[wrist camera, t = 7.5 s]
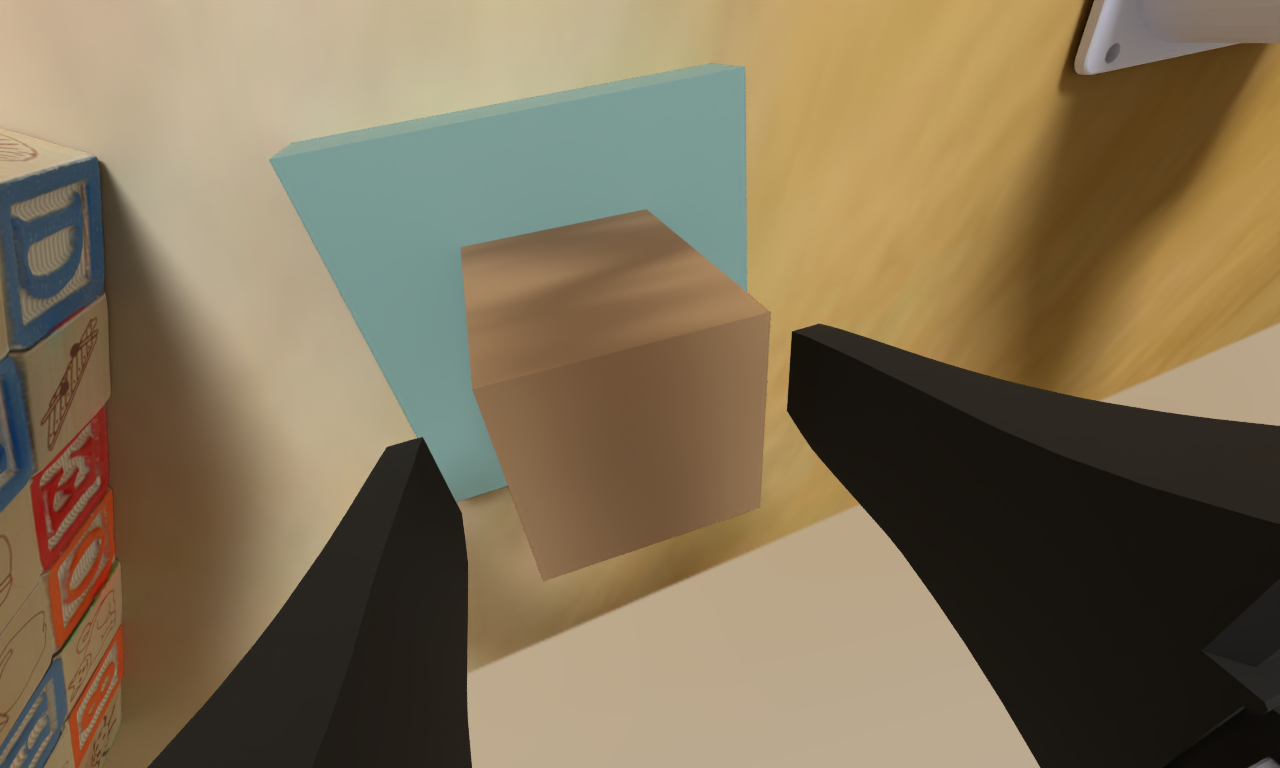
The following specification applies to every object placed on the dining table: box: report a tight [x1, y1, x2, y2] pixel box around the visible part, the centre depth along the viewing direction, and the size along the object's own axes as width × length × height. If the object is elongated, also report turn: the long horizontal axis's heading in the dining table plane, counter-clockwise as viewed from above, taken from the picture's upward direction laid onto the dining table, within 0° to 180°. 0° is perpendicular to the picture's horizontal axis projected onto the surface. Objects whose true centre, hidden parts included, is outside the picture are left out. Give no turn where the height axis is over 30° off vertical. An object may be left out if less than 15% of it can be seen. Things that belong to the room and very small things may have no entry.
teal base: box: [269, 63, 747, 502], centre depth 14 cm, size 10×10×2 cm
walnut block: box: [460, 209, 771, 581], centre depth 11 cm, size 4×4×6 cm
